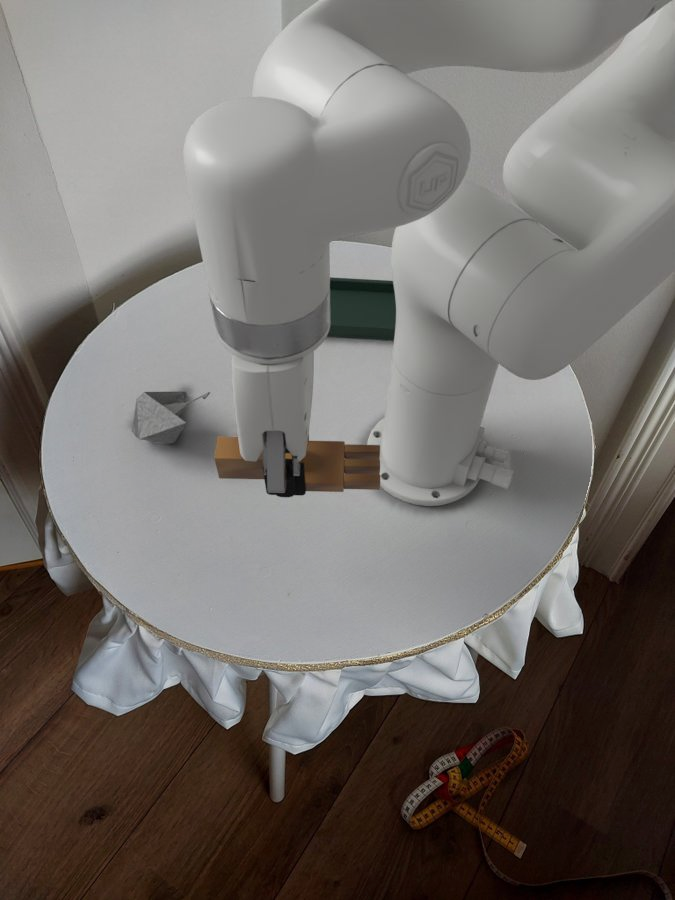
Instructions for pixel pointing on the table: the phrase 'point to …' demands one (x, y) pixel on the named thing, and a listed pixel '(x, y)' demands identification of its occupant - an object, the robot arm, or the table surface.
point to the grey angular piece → (160, 416)
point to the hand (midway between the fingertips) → (288, 465)
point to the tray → (362, 309)
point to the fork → (310, 465)
